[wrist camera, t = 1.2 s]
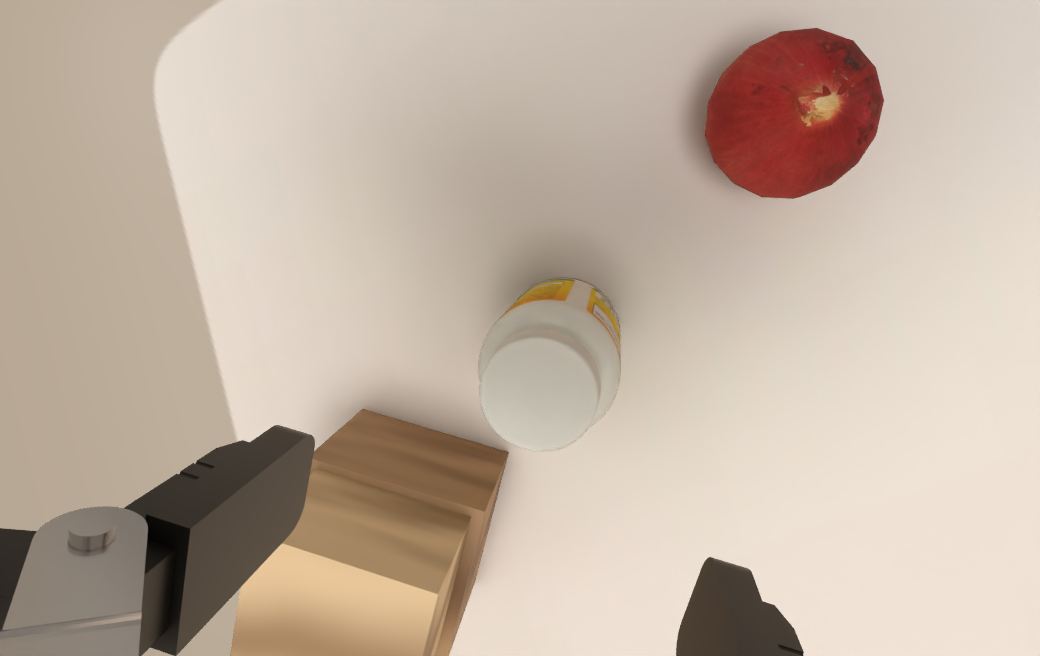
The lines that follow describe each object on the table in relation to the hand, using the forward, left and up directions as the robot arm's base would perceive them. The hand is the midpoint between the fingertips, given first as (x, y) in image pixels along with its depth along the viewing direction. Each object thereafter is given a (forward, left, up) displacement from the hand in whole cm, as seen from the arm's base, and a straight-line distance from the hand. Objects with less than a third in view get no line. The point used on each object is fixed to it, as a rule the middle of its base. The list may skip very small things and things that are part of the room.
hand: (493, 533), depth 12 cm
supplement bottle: (0, 0, -18) cm, 18 cm away
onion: (-11, +6, -18) cm, 22 cm away
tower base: (+11, -5, -18) cm, 22 cm away
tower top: (+11, -5, -12) cm, 17 cm away
